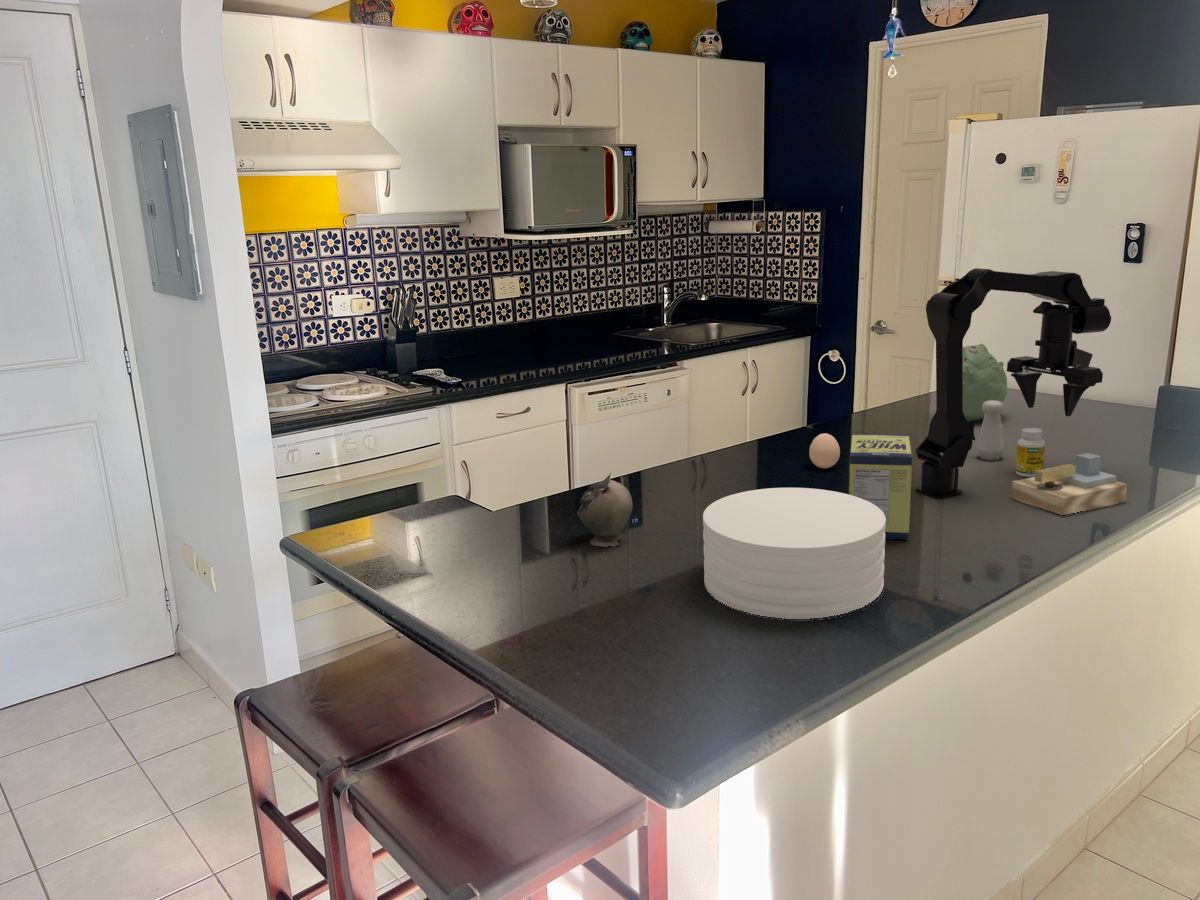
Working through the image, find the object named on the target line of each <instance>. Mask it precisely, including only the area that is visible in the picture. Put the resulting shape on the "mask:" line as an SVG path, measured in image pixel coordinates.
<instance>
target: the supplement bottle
mask: <svg viewBox="0 0 1200 900" xmlns="http://www.w3.org/2000/svg"><path fill="white" fill-rule="evenodd" d="M1020 431H1021V433H1020V435H1021V437H1020V438H1019V439H1018V440H1017V443H1016V444H1017V445H1016V460H1015V474H1017V475H1018V476H1021V477H1025V478H1032V477H1035V471H1037V470H1042V469H1045V468H1044V467H1045V457H1046V456H1045V455H1046V441H1045V440H1044V439H1042V438H1043V432H1044V431H1043V430H1042V428H1036V427H1025V428H1022V429H1021V430H1020Z"/></svg>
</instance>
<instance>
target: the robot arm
mask: <svg viewBox="0 0 1200 900" xmlns="http://www.w3.org/2000/svg"><path fill="white" fill-rule="evenodd" d="M990 291H999V292H1000V291H1001V292H1012V293H1013V292H1014V293H1023V294H1029V295H1031V296H1034V297H1036V298H1040V299H1042V300H1046V301H1041V302H1040V304H1038V305H1037V306H1036V307H1035V308H1034V309H1033V310H1032V313H1033V314H1039V315H1041V316H1042V317H1041V325H1040V337H1039V338H1040V339H1037V340H1035V343H1034V345H1035V346H1037V347H1039V349H1038V357H1033V356H1029V355H1026V356H1024V355H1023V356H1018V357H1011V358H1010V359H1009V360H1008V361H1007V365H1006V372H1008V373H1011V374H1010V377H1013V378H1014V380H1015V382H1016V383H1017V386H1018V387H1019V389H1020V391H1021V394H1022V396H1023V399H1024V400H1025V403H1026V405H1027V407H1028V408H1029V409H1032V408H1034V407H1035V402H1036V396H1037V384H1038V381H1039V379H1040V377H1041V376H1042V374H1046V375H1047V374H1048V375H1052V376H1059V377H1063V378H1064V380H1065V382H1067V383H1063V384H1062V389H1063V391H1062V392H1063V406H1064V408H1063V409H1064V414H1065V417H1071V416H1072V414H1073V413H1074V411H1075V409H1076V407H1077V404H1078V403H1079V401H1080V399H1081V397H1082V395H1084V393H1085V391H1086V390H1088V389H1089V388H1090V387H1095V386H1096V385H1097V384H1100V383H1103V377H1104V373H1103V371H1102V369H1101V368H1100V367H1094V366H1090V364H1091V361H1092V358H1093V356H1094V354H1093V353H1090V352H1088V351H1085V350H1083V349H1081V348H1080V349H1079V348H1078V343H1077V342H1078V341H1077V340H1075V339H1073V334H1075V335H1079V334H1090V333H1093V334H1094V333H1103V332H1105V331H1106V330H1107V329H1108V328H1109V327H1110V325H1111V322H1112V316H1111V312H1110V310H1109V308H1108V307H1107V305H1105V301H1106V300H1105V298H1101V297H1100V298H1099V297H1094V298H1091V297H1090V294H1089V293H1088V291H1087V290H1086V287H1085V286H1084V284H1083V279H1082V277H1081V275H1080V273H1079V274H1078V273H1076V272H1066V271H1056V270H1055V271H1053V270H1050V271H1042V272H1037V273H1036V272H1035V273H1029V274H1028V273H1026V274H1025V273H1019V272H1018V273H1017V272H1016V273H1015V272H1007V271H997V270H992V269H989V268H978V267H977V268H973V269H971V270H969V271H968V272H967V273H966V274H965V275H963V276H962V277H961V278H959V279H957V280H956V281H953V282H952V283H950V284H948V285H946V286H945V287H944V288H943V289H941V291H940V292H937V293H935V294H933V295H932V296H931V297H930V299H928V300H927V302H926V305H925V312H926V319H927V325H928V327H929V330H930V331H931V334H932V335H933V337H934V339H935V377H936V378H935V383H936V387H935V389H936V390H935V391H936V395H935V397H936V399H935V400H936V411H935V413H934V415H933V417H932V418H931V420H930V422H929V425H928V432H927V435H926V437H925V439H924V440H922V442H921V443H920V444H919V445H918V447H916V449H915V454H916V457H917V459H919V460H921V461H923V462H922V464H921V482H920V483H921V486H918V487H915V491H917V492H920V493H922V494H924V495H927V496H930V497H933V498H935V499H941V498H945V497H950V496H956V495H960V494H963V491H962V490H961V489H959V488H958V487H959V468H963V467H964V464H965V462H966V459H967V456H968V454H969V452H970V451H971V450H972V447H973V441H976V436H975V421H974V420H972V419H969V418H966V417H965V415H964V413H963V347H964V345H963V344H964V343H963V342H964V338H965V337H966V335H967V332H968V331H969V329H970V327H971V324H972V317H973V313H974V312H975V311H977V309H979V308H980V307H981V306H982V304H983V303H984V300H985V299H986V297H987V295H988V293H990ZM1050 301H1051V302H1050ZM1052 302H1054V303H1055V304H1052Z"/></svg>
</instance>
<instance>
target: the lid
mask: <svg viewBox="0 0 1200 900" xmlns="http://www.w3.org/2000/svg"><path fill="white" fill-rule="evenodd" d="M1101 459H1102V456H1100V455H1097V454H1094V453H1090V452H1086V453H1081V454H1076V455H1075V464H1074V466H1076V472H1075V476H1073V477H1068V478H1063V479H1058V481H1061V482H1065V483H1068V484H1071V485H1074V486H1078V487H1081V488H1084V489H1086V488H1091V487H1095V486H1100V485H1104V484H1109V483H1114V482H1116V481H1117V475H1114V474H1111V473H1107V472H1104V471H1100V470H1101V462H1102V461H1101Z"/></svg>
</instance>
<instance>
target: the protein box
mask: <svg viewBox="0 0 1200 900" xmlns="http://www.w3.org/2000/svg"><path fill="white" fill-rule="evenodd" d="M912 467H913V455H912V449H911V442H910V435H909V434H892V433H891V434H890V433H889V434H888V433H887V434H885V433H880V434H879V433H852V434H851V445H850V457H849V495H852V496H855V497H858V498H861V499H864V500H866V501H868V502H870V503H872V504H874V505H875V506H877V507H878V508H879V509H881V510H882V512H883V513H884V515H885V518H886V527H885V540H893V539H909V540H910V523H911V522H910V521H911V520H910V519H911V496H912V495H911V494H912V493H911V491H912V470H913V469H912Z"/></svg>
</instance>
